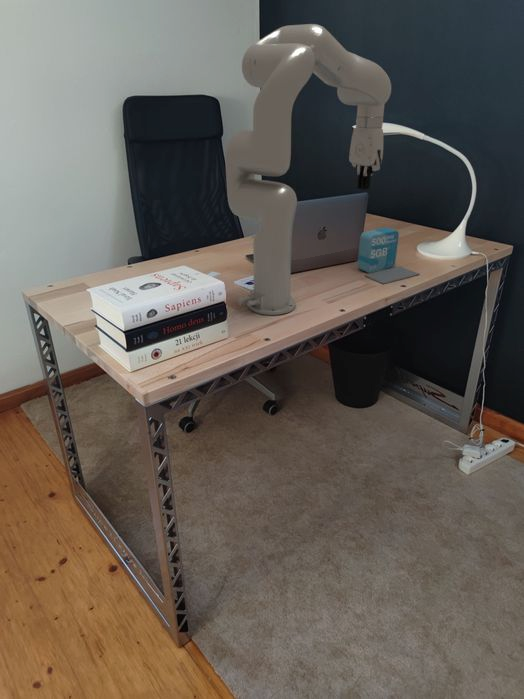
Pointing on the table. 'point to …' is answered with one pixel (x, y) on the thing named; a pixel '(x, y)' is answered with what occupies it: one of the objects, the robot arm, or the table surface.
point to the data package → (377, 249)
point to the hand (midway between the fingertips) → (363, 188)
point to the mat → (391, 275)
